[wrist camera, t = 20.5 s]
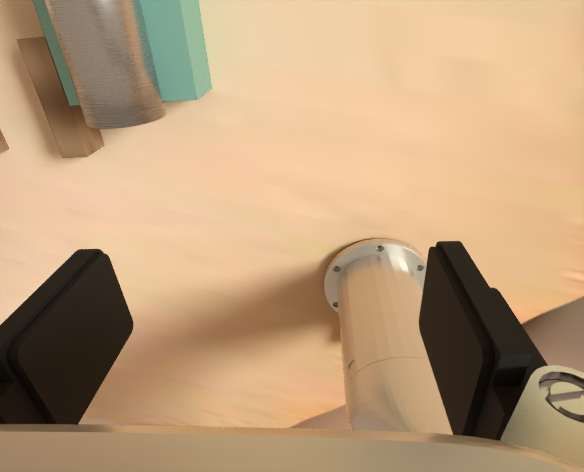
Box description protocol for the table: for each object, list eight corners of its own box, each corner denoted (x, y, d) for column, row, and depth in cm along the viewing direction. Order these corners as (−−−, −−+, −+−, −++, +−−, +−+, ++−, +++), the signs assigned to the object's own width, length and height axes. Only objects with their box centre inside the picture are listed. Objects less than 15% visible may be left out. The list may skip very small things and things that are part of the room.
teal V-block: (211, 88, 35) (197, 99, 31) (98, 93, 36) (69, 105, 31) (180, -113, 28) (155, -134, 23) (39, -100, 28) (-10, -119, 24)
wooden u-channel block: (104, 145, 38) (86, 157, 35) (-13, 149, 39) (-40, 161, 36) (68, 35, 33) (44, 38, 30) (-65, 43, 34) (-102, 46, 31)
